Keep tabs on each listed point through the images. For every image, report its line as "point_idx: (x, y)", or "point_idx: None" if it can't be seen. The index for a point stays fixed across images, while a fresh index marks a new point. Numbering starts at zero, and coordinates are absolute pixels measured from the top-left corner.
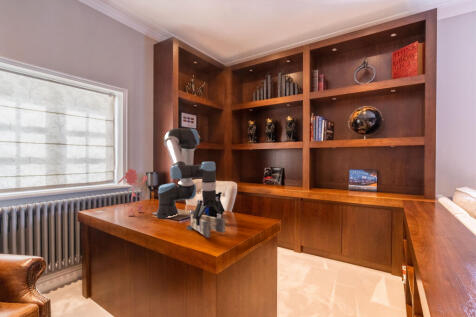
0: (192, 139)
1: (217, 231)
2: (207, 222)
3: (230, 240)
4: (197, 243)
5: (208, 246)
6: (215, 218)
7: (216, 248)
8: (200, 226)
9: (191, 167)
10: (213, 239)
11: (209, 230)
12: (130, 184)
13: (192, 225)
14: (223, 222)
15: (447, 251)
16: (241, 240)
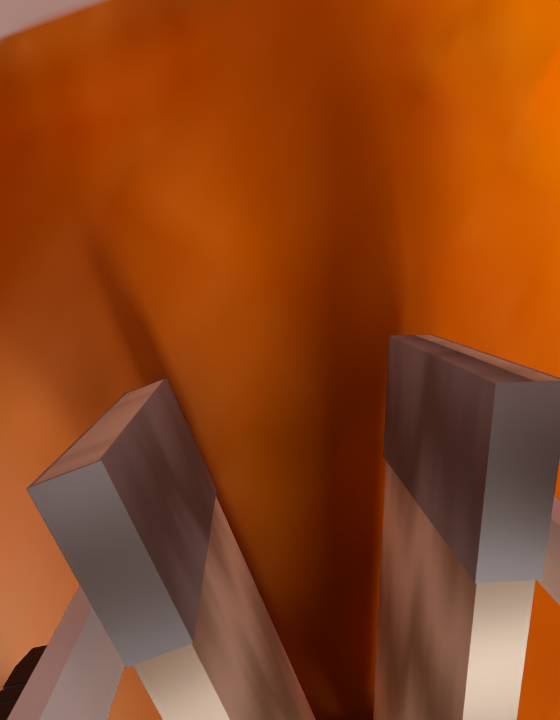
0: None
1: (206, 469)
2: (502, 476)
3: (159, 181)
4: (527, 341)
5: (480, 179)
6: (196, 653)
7: (439, 55)
8: (557, 503)
9: None
10: (323, 345)
11: (440, 350)
12: None
13: None
14: (100, 442)
15: None
16: (24, 81)
